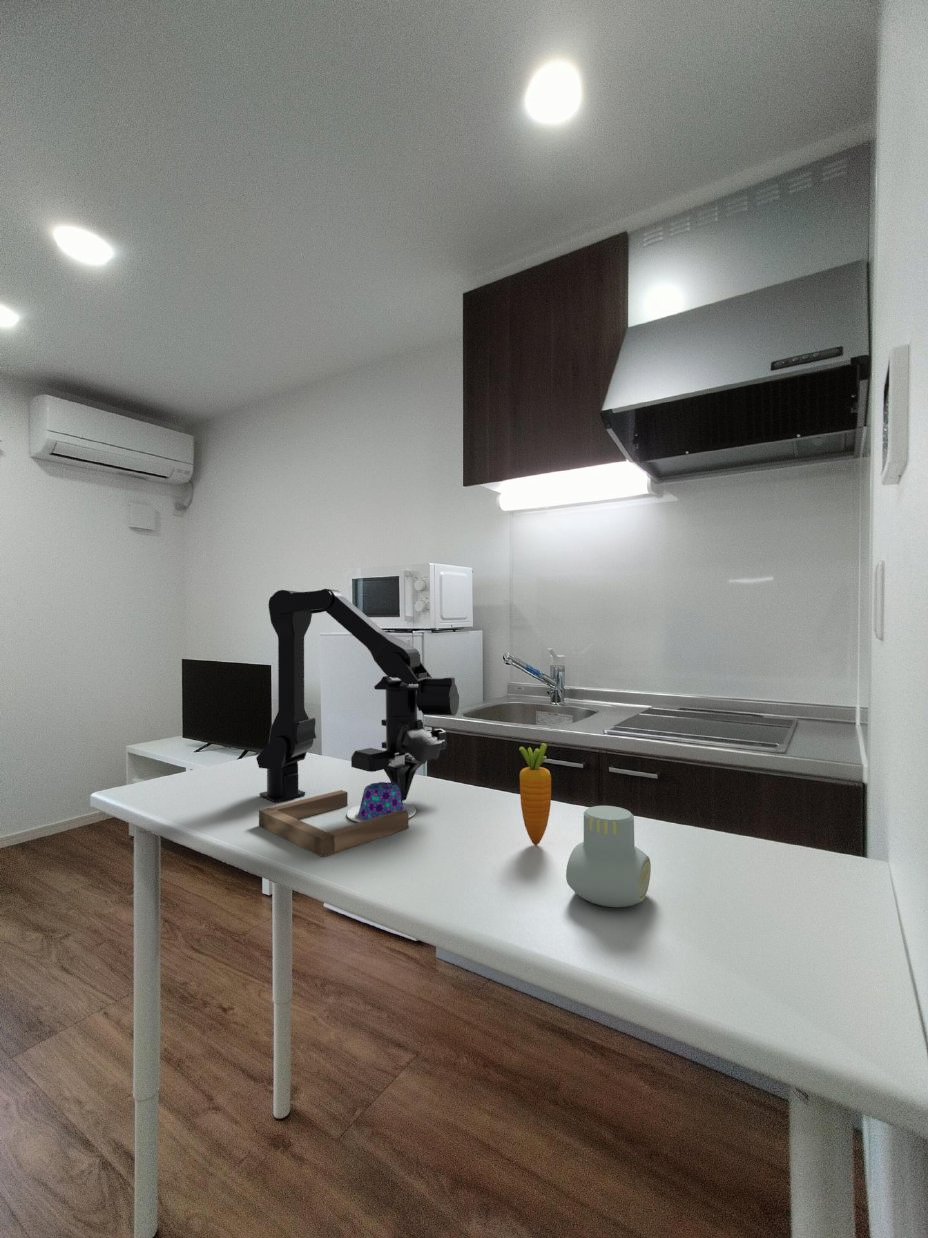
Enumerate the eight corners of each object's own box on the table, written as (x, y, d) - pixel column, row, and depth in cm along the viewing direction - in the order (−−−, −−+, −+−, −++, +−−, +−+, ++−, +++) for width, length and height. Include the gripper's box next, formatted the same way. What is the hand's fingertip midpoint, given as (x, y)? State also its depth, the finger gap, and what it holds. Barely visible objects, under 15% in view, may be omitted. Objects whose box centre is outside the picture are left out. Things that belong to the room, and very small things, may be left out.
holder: (258, 825, 93) (258, 810, 93) (341, 803, 104) (341, 790, 104) (322, 857, 80) (322, 839, 80) (408, 827, 91) (408, 812, 91)
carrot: (513, 848, 83) (512, 745, 83) (526, 837, 87) (525, 739, 87) (546, 854, 80) (545, 748, 81) (557, 842, 85) (556, 742, 85)
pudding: (335, 826, 94) (335, 794, 94) (361, 803, 106) (361, 775, 106) (404, 830, 91) (404, 797, 92) (423, 807, 103) (423, 778, 103)
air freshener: (634, 926, 61) (633, 832, 61) (560, 908, 65) (560, 820, 65) (653, 886, 70) (653, 805, 71) (588, 872, 74) (588, 796, 75)
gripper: (389, 725, 91) (390, 823, 90) (468, 712, 104) (469, 797, 104) (349, 718, 98) (349, 809, 98) (427, 707, 112) (428, 786, 112)
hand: (402, 800), depth 103 cm, fingers closed
